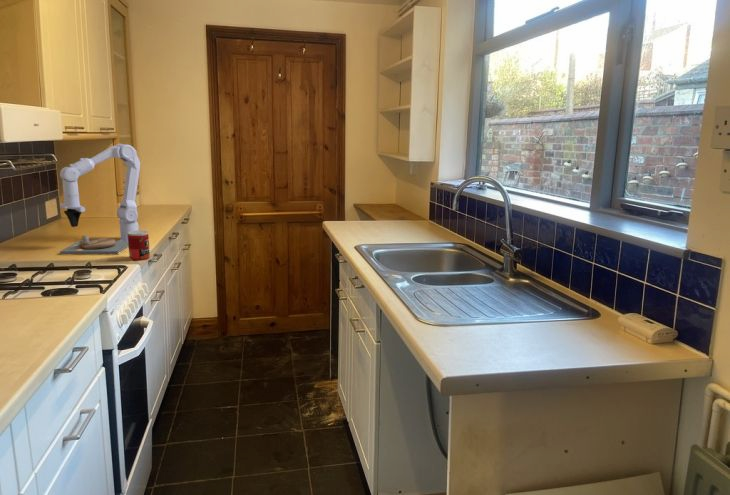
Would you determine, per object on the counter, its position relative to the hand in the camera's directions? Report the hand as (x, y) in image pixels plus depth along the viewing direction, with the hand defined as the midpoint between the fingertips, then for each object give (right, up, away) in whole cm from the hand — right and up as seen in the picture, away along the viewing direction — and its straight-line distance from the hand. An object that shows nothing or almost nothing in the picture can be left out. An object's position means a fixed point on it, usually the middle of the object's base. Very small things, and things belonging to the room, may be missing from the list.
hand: (74, 226), depth 239 cm
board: (+10, -10, 0) cm, 14 cm away
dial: (+10, -8, 0) cm, 13 cm away
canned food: (+33, -14, -12) cm, 38 cm away
